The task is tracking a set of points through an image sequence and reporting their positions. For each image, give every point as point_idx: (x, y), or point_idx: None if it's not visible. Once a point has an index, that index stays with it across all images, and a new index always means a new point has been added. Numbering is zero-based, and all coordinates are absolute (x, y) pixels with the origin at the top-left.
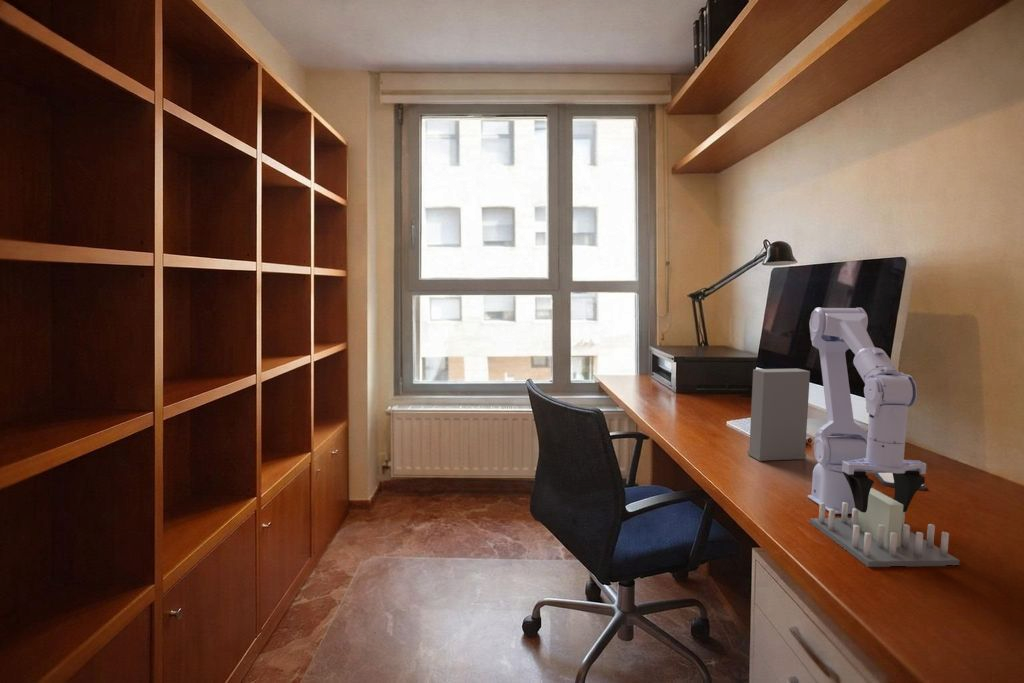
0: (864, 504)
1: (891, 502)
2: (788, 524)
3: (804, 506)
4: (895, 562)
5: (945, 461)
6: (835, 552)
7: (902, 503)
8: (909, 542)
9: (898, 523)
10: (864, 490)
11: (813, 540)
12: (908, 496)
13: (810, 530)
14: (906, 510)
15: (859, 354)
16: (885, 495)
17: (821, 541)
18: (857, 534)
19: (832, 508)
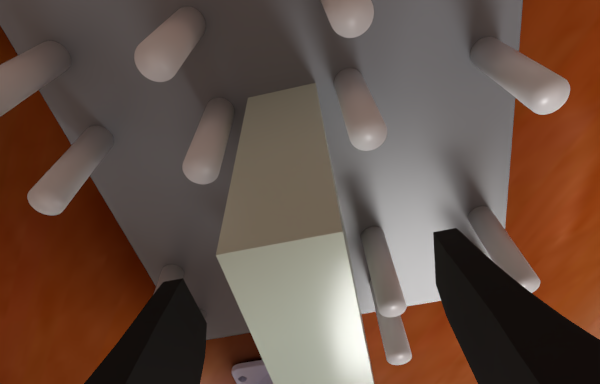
0: (485, 261)
1: (299, 282)
2: (588, 251)
3: (426, 375)
4: None
5: None
6: (574, 25)
7: (174, 329)
8: (181, 156)
9: (258, 157)
10: (594, 359)
11: (590, 134)
12: (126, 373)
13: (533, 220)
14: (159, 287)
15: None
16: (276, 381)
17: (559, 131)
18: (526, 61)
19: None
